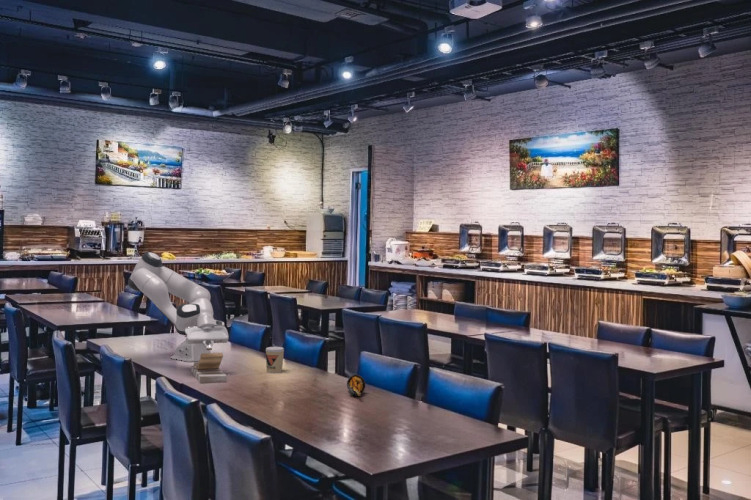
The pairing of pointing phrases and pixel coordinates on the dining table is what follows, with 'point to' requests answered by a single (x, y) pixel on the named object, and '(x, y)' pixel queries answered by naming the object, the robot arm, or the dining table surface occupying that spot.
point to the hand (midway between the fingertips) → (208, 349)
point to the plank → (209, 361)
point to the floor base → (208, 375)
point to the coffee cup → (274, 359)
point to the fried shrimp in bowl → (356, 385)
